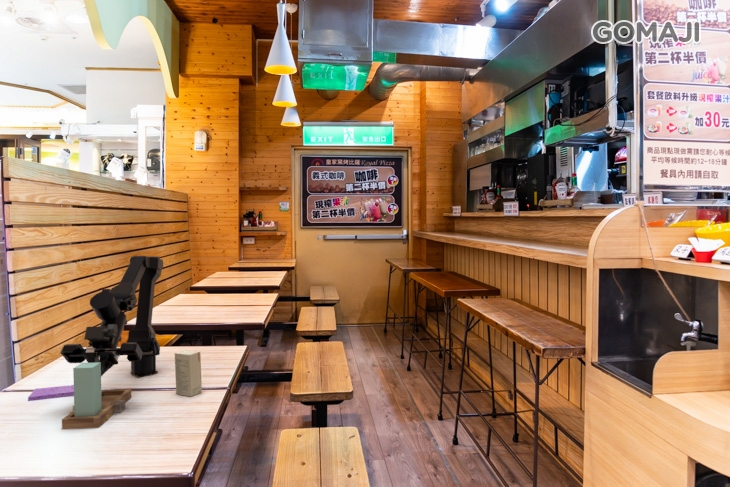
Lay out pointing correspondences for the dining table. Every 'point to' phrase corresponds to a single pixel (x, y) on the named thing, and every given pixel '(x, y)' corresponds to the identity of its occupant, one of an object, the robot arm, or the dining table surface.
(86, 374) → the grey-green tall block
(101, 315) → the robot arm
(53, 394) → the sponges
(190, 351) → the skincare box
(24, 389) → the dining table surface
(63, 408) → the dining table surface
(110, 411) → the wooden tray
